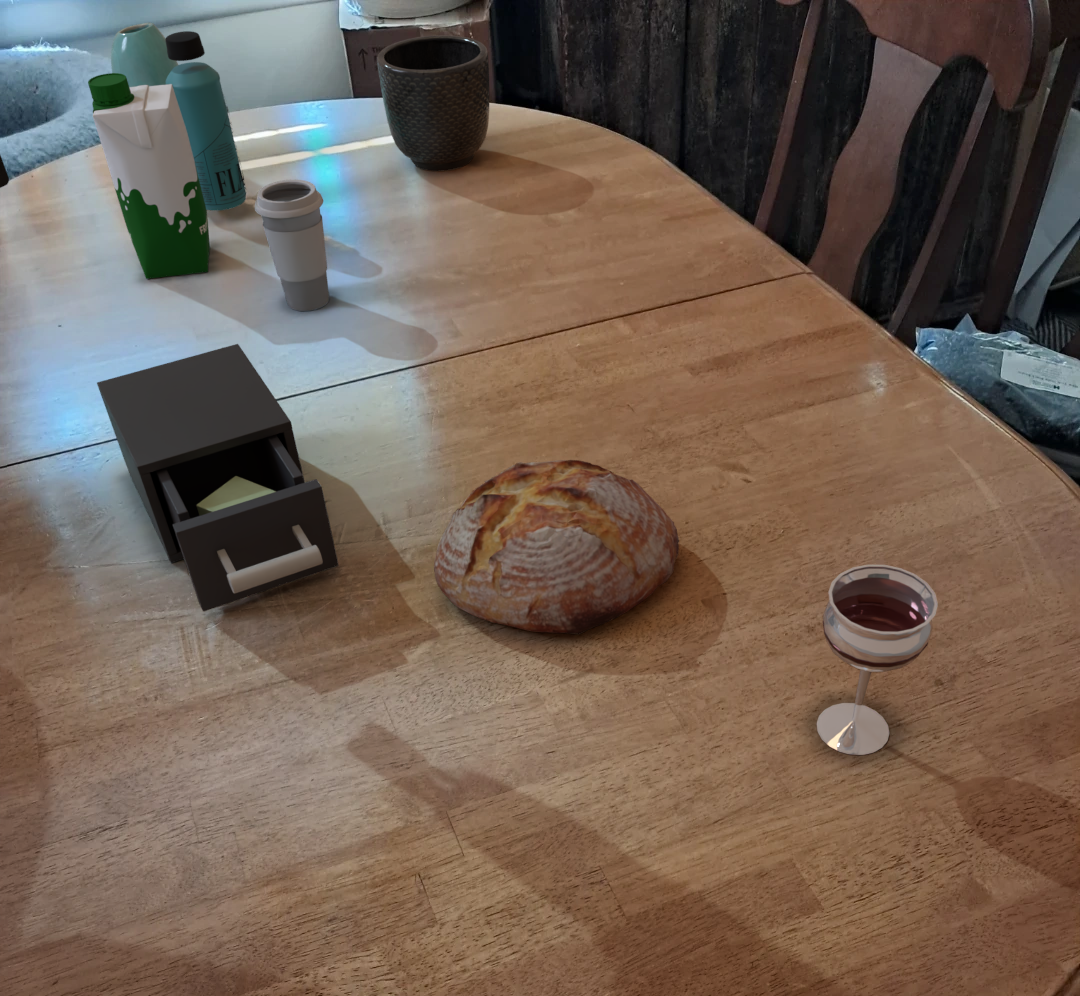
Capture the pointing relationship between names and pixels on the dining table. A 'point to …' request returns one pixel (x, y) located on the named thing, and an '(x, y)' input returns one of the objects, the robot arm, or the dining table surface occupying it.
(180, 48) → the beverage bottle
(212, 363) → the cabinet
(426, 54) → the planter
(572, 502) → the bread
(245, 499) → the block
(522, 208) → the dining table surface
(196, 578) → the mini filing drawer
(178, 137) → the milk carton
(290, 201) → the cup
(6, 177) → the robot arm
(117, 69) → the vase
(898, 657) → the wineglass
